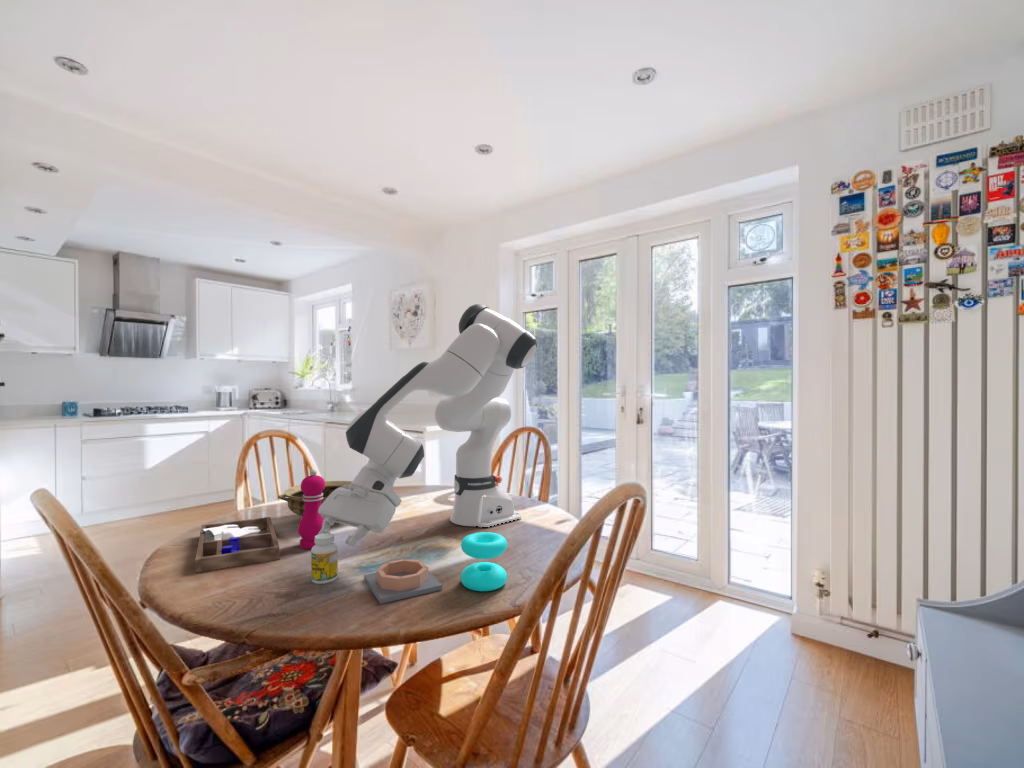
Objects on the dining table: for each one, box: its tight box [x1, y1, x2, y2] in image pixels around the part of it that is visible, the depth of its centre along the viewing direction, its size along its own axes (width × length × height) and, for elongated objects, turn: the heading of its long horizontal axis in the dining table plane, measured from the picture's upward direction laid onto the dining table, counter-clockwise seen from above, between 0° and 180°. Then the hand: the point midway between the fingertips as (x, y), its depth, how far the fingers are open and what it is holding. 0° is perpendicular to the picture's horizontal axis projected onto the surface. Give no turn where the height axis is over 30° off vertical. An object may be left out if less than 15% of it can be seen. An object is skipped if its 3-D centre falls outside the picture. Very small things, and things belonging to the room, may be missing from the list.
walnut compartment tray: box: [194, 516, 280, 574], centre depth 124 cm, size 17×29×3 cm, turn 31°
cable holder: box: [222, 537, 242, 554], centre depth 117 cm, size 8×4×4 cm, turn 18°
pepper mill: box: [297, 469, 326, 550], centre depth 125 cm, size 7×7×20 cm
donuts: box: [460, 531, 508, 592], centre depth 103 cm, size 10×10×10 cm
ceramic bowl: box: [277, 480, 353, 517], centre depth 148 cm, size 30×24×10 cm
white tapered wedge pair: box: [200, 525, 261, 542], centre depth 128 cm, size 12×4×11 cm
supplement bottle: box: [310, 532, 339, 585], centre depth 104 cm, size 5×5×10 cm
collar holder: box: [363, 558, 443, 605], centre depth 102 cm, size 13×13×4 cm
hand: (335, 541), depth 106 cm, fingers open, 8 cm apart
